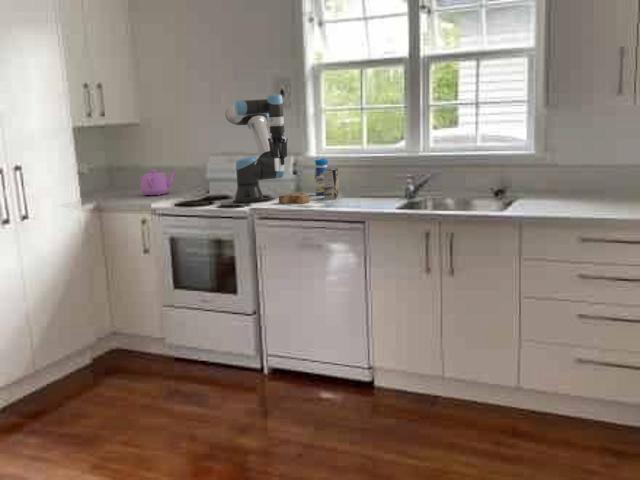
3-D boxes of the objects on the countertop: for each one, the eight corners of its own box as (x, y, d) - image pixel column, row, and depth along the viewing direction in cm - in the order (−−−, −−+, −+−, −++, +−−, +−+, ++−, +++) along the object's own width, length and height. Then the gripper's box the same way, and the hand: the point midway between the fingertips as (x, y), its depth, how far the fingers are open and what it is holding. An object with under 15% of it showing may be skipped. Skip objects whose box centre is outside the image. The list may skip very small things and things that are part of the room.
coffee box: (336, 201, 348) (335, 170, 344) (324, 201, 349) (322, 170, 346) (339, 198, 357) (338, 167, 353) (327, 198, 358) (326, 168, 354)
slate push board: (273, 205, 344) (273, 203, 344) (300, 200, 356) (300, 198, 356) (307, 209, 326) (307, 208, 326) (334, 204, 338) (334, 202, 337)
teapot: (136, 198, 398) (133, 172, 395) (146, 193, 419) (144, 168, 415) (174, 196, 397) (171, 171, 394) (183, 191, 417) (180, 167, 414)
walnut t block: (279, 203, 345) (278, 195, 344) (298, 199, 354) (297, 192, 353) (296, 205, 335) (295, 197, 334) (315, 201, 344) (315, 194, 343)
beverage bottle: (332, 194, 371) (330, 158, 367) (329, 197, 363) (328, 159, 359) (316, 195, 372) (315, 158, 368) (314, 197, 364) (312, 160, 360)
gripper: (261, 125, 348) (264, 171, 353) (281, 125, 337) (284, 172, 342) (272, 124, 353) (275, 169, 358) (292, 124, 342) (295, 170, 347)
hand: (279, 170), depth 350 cm, fingers open, 3 cm apart
